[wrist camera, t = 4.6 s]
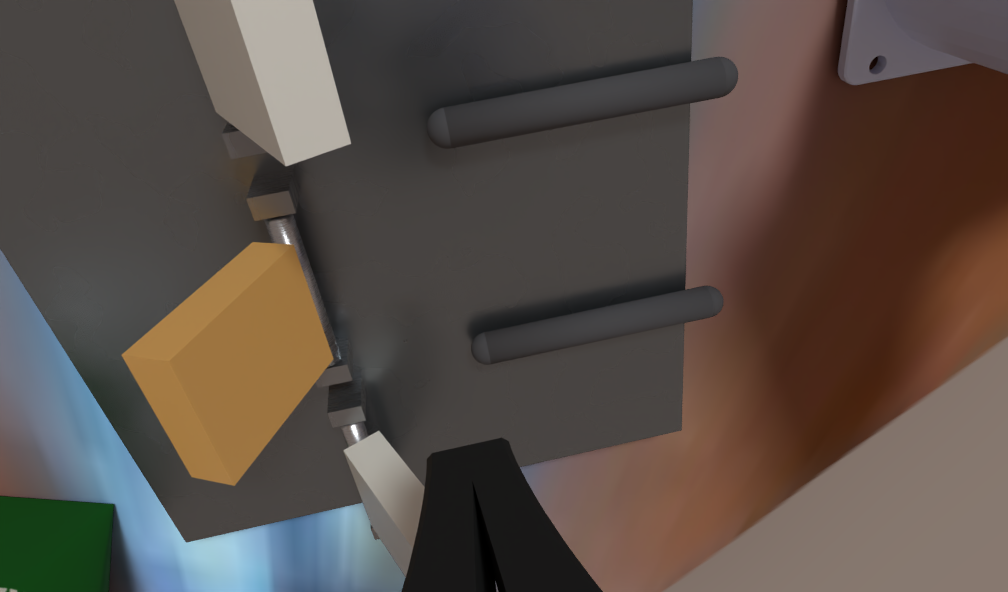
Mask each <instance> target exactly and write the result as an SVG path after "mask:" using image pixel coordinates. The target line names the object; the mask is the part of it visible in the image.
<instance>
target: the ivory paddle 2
mask: <svg viewBox="0 0 1008 592" xmlns="http://www.w3.org/2000/svg"><path fill="white" fill-rule="evenodd" d="M343 451H344V454H345V456H346V459H347V462H348V464H349V467H350V470H351V472H352V475H353V478H354V480H355V483H356V486H357V488H358V491H359V494H360V496H361V499H362V501H363V504H364V507H365V509H366V512H367V515H368V517H369V520H370V523H371V525H372V527H373V529H374V530H375V532H376V533H377V535H378V536H379V538H380V539H381V541H382V542H383V544H384V545H385V547H386V548H387V550H388V551H389V553H390V554H391V556H392V557H393V559H394V560H395V562H396V563H397V565H398V566H399V568H400V569H401V571H402V572H403V574H404V575H405V577H406V575H407V571H408V567H409V563H410V559H411V554H412V550H413V546H414V542H415V537H416V533H417V529H418V524H419V519H420V513H421V508H422V502H423V496H424V489H425V487H424V486H423V485H422V483H421V482H420V481H419V480H418V478H417V477H416V476H415V475H414V474H413V472H412V471H411V470H410V469H409V467H408V466H407V465H406V464H405V462H404V461H403V460H402V459H401V457H400V456H399V455H398V454H397V452H396V451H395V450H394V449H393V447H392V446H391V445H390V444H389V442H388V441H387V440H386V439H385V437H384V436H383V435H382V434H381V432H380V431H377V432H376V433H374V434H372V435H370V436H368V437H367V438H365V439H363V440H361V441H359V442H357V443H356V444H354V445H352V446H350V447H348V448H347V449H345V450H343Z"/></svg>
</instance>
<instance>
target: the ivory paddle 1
mask: <svg viewBox="0 0 1008 592" xmlns="http://www.w3.org/2000/svg"><path fill="white" fill-rule="evenodd" d="M174 2H175V4H176V7H177V10H178V12H179V15H180V18H181V20H182V23H183V26H184V28H185V31H186V34H187V36H188V39H189V42H190V44H191V47H192V49H193V52H194V55H195V57H196V60H197V63H198V65H199V68H200V71H201V73H202V76H203V79H204V81H205V84H206V87H207V89H208V92H209V95H210V97H211V100H212V103H213V105H214V108H215V111H216V113H218V114H219V115H220V116H222V117H223V118H224V119H225V120H227V121H228V122H229V123H231V124H232V125H233V126H234V127H236V128H237V129H238V130H240V131H241V132H242V133H243V134H245V135H246V136H247V137H249V138H250V139H251V140H252V141H254V142H255V143H256V144H258V145H259V146H260V147H261V148H263V149H264V150H265V151H267V152H268V153H269V154H270V155H272V156H273V157H274V158H276V159H277V160H278V161H280V162H281V163H282V164H283V165H285V166H289V165H292V164H294V163H297V162H300V161H303V160H306V159H309V158H312V157H314V156H317V155H320V154H323V153H326V152H329V151H332V150H335V149H337V148H340V147H343V146H346V145H349V144H351V141H350V137H349V133H348V130H347V126H346V122H345V119H344V115H343V111H342V107H341V104H340V100H339V96H338V92H337V89H336V85H335V81H334V78H333V74H332V70H331V66H330V63H329V59H328V55H327V52H326V48H325V44H324V40H323V37H322V33H321V29H320V25H319V22H318V18H317V14H316V11H315V7H314V3H313V0H174Z"/></svg>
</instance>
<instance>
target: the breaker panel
mask: <svg viewBox="0 0 1008 592" xmlns="http://www.w3.org/2000/svg"><path fill="white" fill-rule="evenodd" d="M313 3H314V7H315V11H316V14H317V18H318V22H319V25H320V29H321V33H322V37H323V40H324V44H325V48H326V52H327V55H328V59H329V63H330V66H331V70H332V74H333V78H334V81H335V85H336V89H337V92H338V96H339V100H340V104H341V107H342V111H343V115H344V119H345V122H346V126H347V130H348V133H349V137H350V141H351V144H349V145H346V146H343V147H340V148H337V149H335V150H332V151H329V152H326V153H323V154H320V155H317V156H314V157H312V158H309V159H306V160H303V161H300V162H297V163H294V164H292V165H289V166H285V165H283V164H282V163H281V162H280V161H278V160H277V159H276V158H274V157H273V156H272V155H270V154H269V153H268V152H267V151H265V150H264V149H263V148H261V147H260V146H259V145H258V144H256V143H255V142H254V141H252V140H251V139H250V138H249V137H247V136H246V135H245V134H243V133H242V132H241V131H240V130H238V129H237V128H236V127H234V126H233V125H232V124H231V123H229V122H228V121H227V120H225V119H224V118H223V117H222V116H220V115H219V114H218V113H216V111H215V108H214V105H213V103H212V100H211V97H210V95H209V92H208V89H207V87H206V84H205V81H204V79H203V76H202V73H201V71H200V68H199V65H198V63H197V60H196V57H195V55H194V52H193V49H192V47H191V44H190V42H189V39H188V36H187V34H186V31H185V28H184V26H183V23H182V20H181V18H180V15H179V12H178V10H177V7H176V4H175V2H174V0H0V249H1V251H2V252H3V254H4V255H5V257H6V258H7V260H8V262H9V263H10V265H11V266H12V268H13V269H14V271H15V273H16V274H17V276H18V277H19V279H20V281H21V282H22V284H23V285H24V287H25V288H26V290H27V292H28V293H29V295H30V296H31V298H32V300H33V301H34V303H35V304H36V306H37V307H38V309H39V311H40V312H41V314H42V315H43V317H44V319H45V320H46V322H47V323H48V325H49V326H50V328H51V330H52V331H53V333H54V334H55V336H56V337H57V339H58V341H59V342H60V344H61V345H62V347H63V349H64V350H65V352H66V353H67V355H68V356H69V358H70V360H71V361H72V363H73V364H74V366H75V368H76V369H77V371H78V372H79V374H80V375H81V377H82V379H83V380H84V382H85V383H86V385H87V387H88V388H89V390H90V391H91V393H92V394H93V396H94V398H95V399H96V401H97V402H98V404H99V405H100V407H101V409H102V410H103V412H104V413H105V415H106V417H107V418H108V420H109V421H110V423H111V424H112V426H113V428H114V429H115V431H116V432H117V434H118V436H119V437H120V439H121V440H122V442H123V443H124V445H125V447H126V448H127V450H128V451H129V453H130V454H131V456H132V458H133V459H134V461H135V462H136V464H137V466H138V467H139V469H140V470H141V472H142V473H143V475H144V477H145V478H146V480H147V481H148V483H149V485H150V486H151V488H152V489H153V491H154V492H155V494H156V496H157V497H158V499H159V500H160V502H161V504H162V505H163V507H164V508H165V510H166V511H167V513H168V515H169V516H170V518H171V519H172V521H173V522H174V524H175V526H176V527H177V529H178V530H179V532H180V534H181V535H182V537H183V538H184V540H185V541H186V542H190V541H195V540H199V539H203V538H208V537H212V536H217V535H221V534H226V533H230V532H234V531H239V530H243V529H248V528H252V527H256V526H261V525H265V524H270V523H274V522H279V521H283V520H287V519H292V518H296V517H301V516H305V515H309V514H314V513H318V512H323V511H327V510H332V509H336V508H340V507H345V506H349V505H354V504H358V503H362V502H363V501H362V499H361V496H360V494H359V491H358V488H357V486H356V483H355V480H354V478H353V475H352V472H351V470H350V467H349V464H348V462H347V459H346V456H345V454H344V451H343V450H345V449H347V448H348V447H350V446H352V445H354V444H356V443H357V442H359V441H361V440H363V439H365V438H367V437H368V436H370V435H372V434H374V433H376V432H377V431H380V432H381V434H382V435H383V436H384V437H385V439H386V440H387V441H388V442H389V444H390V445H391V446H392V447H393V449H394V450H395V451H396V452H397V454H398V455H399V456H400V457H401V459H402V460H403V461H404V462H405V464H406V465H407V466H408V467H409V469H410V470H411V471H412V472H413V474H414V475H415V476H416V477H417V478H418V480H419V481H420V482H421V483H422V485H423V486H424V487H425V480H426V466H427V458H428V457H429V456H430V455H431V454H432V453H434V452H439V451H443V450H448V449H452V448H457V447H461V446H466V445H470V444H475V443H479V442H484V441H489V440H493V439H498V438H504V439H506V440H507V441H509V443H510V446H511V449H512V452H513V454H514V456H515V459H516V461H517V463H518V465H519V467H521V466H526V465H530V464H535V463H539V462H544V461H548V460H552V459H557V458H561V457H566V456H570V455H575V454H579V453H583V452H588V451H592V450H597V449H601V448H605V447H610V446H614V445H619V444H623V443H628V442H632V441H636V440H641V439H645V438H650V437H654V436H658V435H663V434H667V433H672V432H676V431H681V430H682V394H683V355H684V323H682V324H677V325H672V326H668V327H663V328H658V329H654V330H649V331H644V332H640V333H635V334H630V335H626V336H621V337H616V338H612V339H607V340H602V341H598V342H593V343H588V344H584V345H579V346H574V347H570V348H565V349H560V350H556V351H551V352H546V353H542V354H537V355H532V356H528V357H523V358H518V359H514V360H509V361H504V362H500V363H495V364H490V365H484V364H481V363H479V362H478V361H476V360H475V359H474V357H473V355H472V353H471V344H472V341H473V340H474V338H475V337H476V336H477V335H479V334H480V333H483V332H488V331H492V330H497V329H502V328H507V327H511V326H516V325H521V324H525V323H530V322H535V321H540V320H544V319H549V318H554V317H559V316H563V315H568V314H573V313H578V312H582V311H587V310H592V309H597V308H601V307H606V306H611V305H616V304H620V303H625V302H630V301H635V300H639V299H644V298H649V297H654V296H658V295H663V294H668V293H673V292H677V291H682V290H685V278H686V239H687V200H688V161H689V123H690V103H689V104H683V105H678V106H673V107H668V108H662V109H657V110H652V111H647V112H641V113H636V114H631V115H625V116H620V117H615V118H610V119H604V120H599V121H594V122H589V123H583V124H578V125H573V126H567V127H562V128H557V129H552V130H546V131H541V132H536V133H531V134H525V135H520V136H515V137H509V138H504V139H499V140H494V141H488V142H483V143H478V144H473V145H467V146H462V147H457V148H451V149H444V148H440V147H438V146H436V145H435V144H434V143H433V142H432V141H431V140H430V138H429V136H428V133H427V122H428V119H429V117H430V116H431V115H432V113H433V112H435V111H436V110H438V109H440V108H443V107H449V106H454V105H460V104H465V103H470V102H476V101H481V100H487V99H492V98H497V97H503V96H508V95H514V94H519V93H524V92H530V91H535V90H541V89H546V88H551V87H557V86H562V85H568V84H573V83H578V82H584V81H589V80H595V79H600V78H605V77H611V76H616V75H622V74H627V73H632V72H638V71H643V70H649V69H654V68H660V67H665V66H670V65H676V64H681V63H687V62H691V45H692V7H693V0H313ZM252 242H260V243H277V244H294V247H295V250H296V253H297V256H298V259H299V261H300V264H301V267H302V270H303V273H304V276H305V279H306V281H307V284H308V287H309V290H310V293H311V296H312V299H313V301H314V304H315V307H316V310H317V313H318V316H319V319H320V321H321V324H322V327H323V330H324V333H325V336H326V339H327V341H328V344H329V347H330V350H331V353H332V356H333V360H332V362H331V363H330V364H329V365H328V367H327V368H326V369H325V371H324V372H323V373H322V374H321V376H320V377H319V378H318V380H317V381H316V382H315V383H314V385H313V386H312V387H311V389H310V390H309V391H308V392H307V394H306V395H305V396H304V397H303V399H302V400H301V401H300V403H299V404H298V405H297V406H296V408H295V409H294V410H293V412H292V413H291V414H290V415H289V417H288V418H287V419H286V421H285V422H284V423H283V424H282V426H281V427H280V428H279V430H278V431H277V432H276V433H275V435H274V436H273V437H272V439H271V440H270V441H269V442H268V444H267V445H266V446H265V447H264V449H263V450H262V451H261V453H260V454H259V455H258V456H257V458H256V459H255V460H254V462H253V463H252V464H251V465H250V467H249V468H248V469H247V471H246V472H245V473H244V474H243V476H242V477H241V478H240V480H239V481H238V482H237V483H236V485H235V486H233V485H228V484H223V483H218V482H213V481H208V480H203V479H198V478H193V477H191V475H190V473H189V472H188V470H187V468H186V467H185V465H184V463H183V461H182V460H181V458H180V456H179V454H178V453H177V451H176V449H175V447H174V446H173V444H172V442H171V440H170V439H169V437H168V435H167V433H166V432H165V430H164V428H163V427H162V425H161V423H160V421H159V420H158V418H157V416H156V414H155V413H154V411H153V409H152V407H151V406H150V404H149V402H148V400H147V399H146V397H145V395H144V393H143V392H142V390H141V388H140V387H139V385H138V383H137V381H136V380H135V378H134V376H133V374H132V373H131V371H130V369H129V367H128V366H127V364H126V362H125V360H124V359H123V357H122V354H123V353H124V352H125V351H127V350H128V349H129V348H130V347H131V346H132V345H134V344H135V343H136V342H137V341H138V340H139V339H141V338H142V337H143V336H144V335H145V334H146V333H148V332H149V331H150V330H151V329H152V328H153V327H155V326H156V325H157V324H158V323H159V322H160V321H161V320H163V319H164V318H165V317H166V316H167V315H168V314H170V313H171V312H172V311H173V310H174V309H175V308H177V307H178V306H179V305H180V304H181V303H182V302H184V301H185V300H186V299H187V298H188V297H189V296H191V295H192V294H193V293H194V292H195V291H196V290H198V289H199V288H200V287H201V286H202V285H203V284H205V283H206V282H207V281H208V280H209V279H210V278H212V277H213V276H214V275H215V274H216V273H217V272H218V271H220V270H221V269H222V268H223V267H224V266H225V265H227V264H228V263H229V262H230V261H231V260H232V259H234V258H235V257H236V256H237V255H238V254H239V253H241V252H242V251H243V250H244V249H245V248H246V247H248V246H249V245H250V244H251V243H252ZM371 530H372V533H373V535H374V538H375V540H376V539H380V538H379V536H378V535H377V533H376V532H375V530H374V529H373V527H372V525H371Z"/></svg>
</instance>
